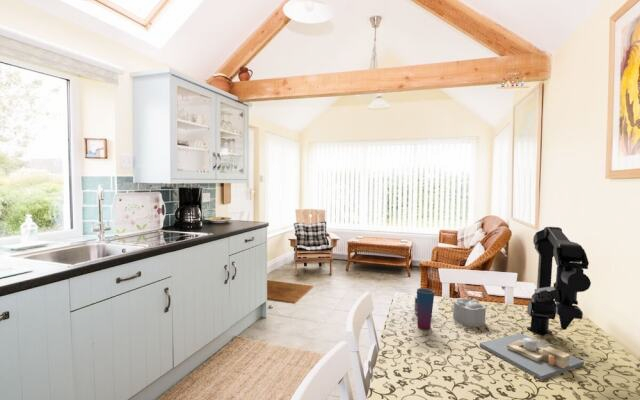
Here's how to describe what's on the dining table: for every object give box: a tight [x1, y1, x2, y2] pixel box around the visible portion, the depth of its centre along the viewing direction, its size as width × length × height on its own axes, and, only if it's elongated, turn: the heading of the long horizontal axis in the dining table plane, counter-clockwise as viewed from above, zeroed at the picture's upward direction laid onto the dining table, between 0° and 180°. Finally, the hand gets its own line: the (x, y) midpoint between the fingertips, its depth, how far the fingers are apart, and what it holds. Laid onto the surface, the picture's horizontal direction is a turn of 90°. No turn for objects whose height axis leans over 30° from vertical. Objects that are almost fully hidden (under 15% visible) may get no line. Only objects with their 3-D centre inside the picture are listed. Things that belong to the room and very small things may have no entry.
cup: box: [416, 287, 435, 331], centre depth 135 cm, size 7×7×15 cm
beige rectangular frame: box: [507, 339, 571, 368], centre depth 112 cm, size 16×10×4 cm, turn 31°
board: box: [479, 332, 585, 381], centre depth 115 cm, size 22×22×5 cm
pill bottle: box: [413, 294, 417, 315], centre depth 150 cm, size 6×6×10 cm
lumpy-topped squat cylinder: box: [452, 297, 487, 328], centre depth 144 cm, size 10×13×9 cm
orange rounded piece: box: [548, 355, 555, 367], centre depth 107 cm, size 2×2×3 cm
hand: (563, 329), depth 109 cm, fingers closed
